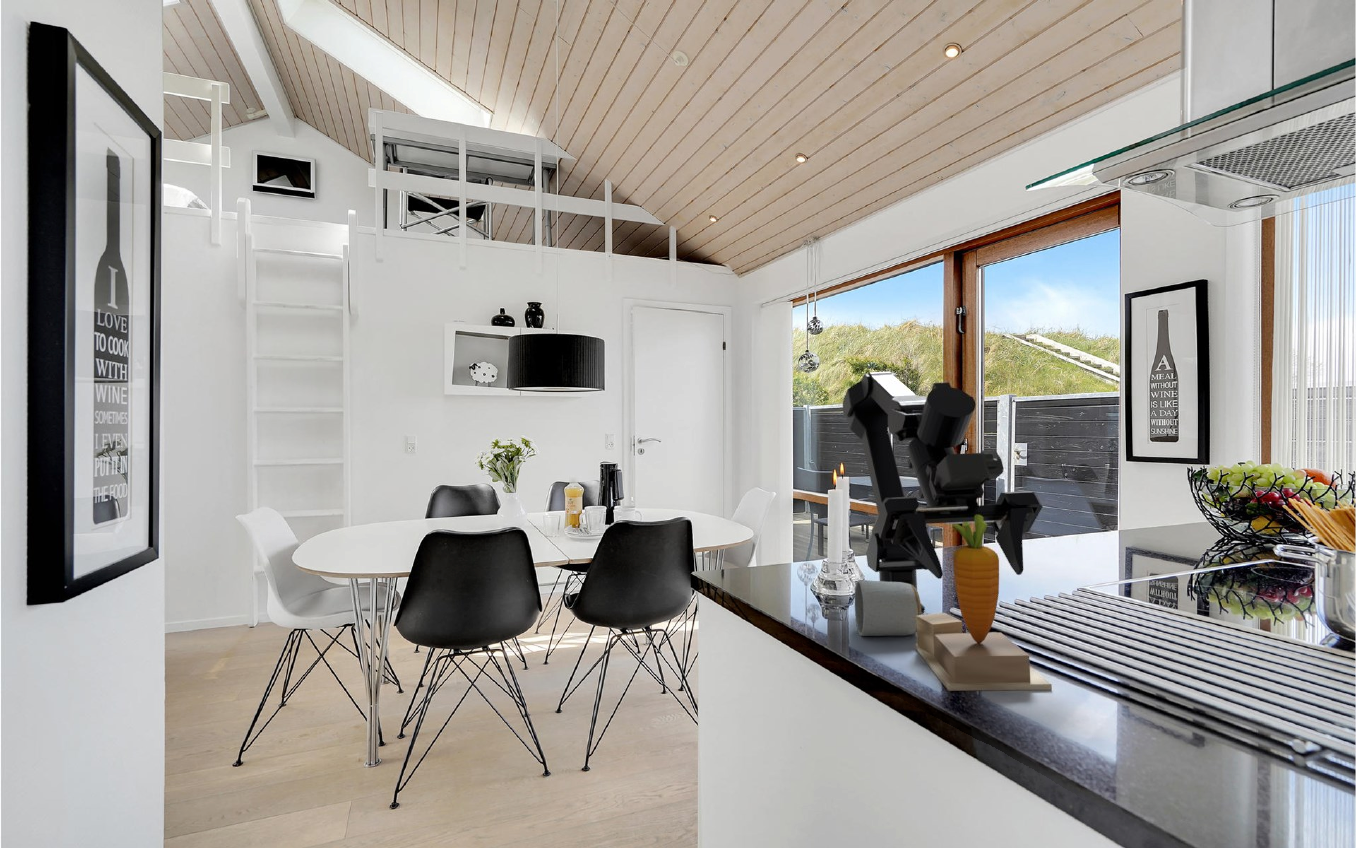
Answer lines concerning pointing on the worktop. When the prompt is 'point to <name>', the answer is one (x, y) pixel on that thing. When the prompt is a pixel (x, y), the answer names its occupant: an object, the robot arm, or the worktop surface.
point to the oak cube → (935, 629)
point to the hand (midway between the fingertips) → (980, 574)
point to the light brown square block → (982, 659)
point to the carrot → (976, 580)
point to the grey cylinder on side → (886, 608)
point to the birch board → (1035, 679)
